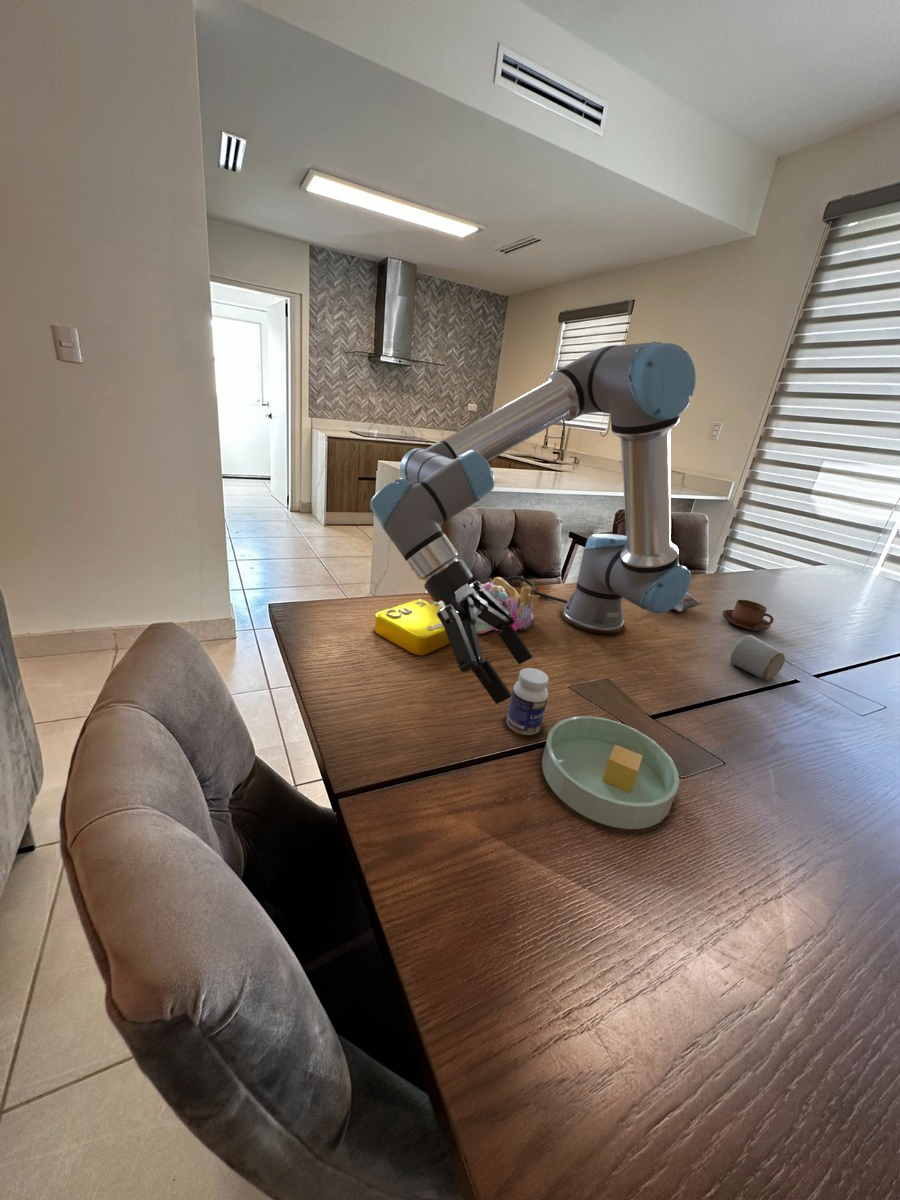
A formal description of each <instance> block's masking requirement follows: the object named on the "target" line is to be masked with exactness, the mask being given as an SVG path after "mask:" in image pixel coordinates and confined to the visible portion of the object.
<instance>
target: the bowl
mask: <svg viewBox="0 0 900 1200" xmlns="http://www.w3.org/2000/svg"><path fill="white" fill-rule="evenodd" d="M546 737H547V738H546V743H545V745H544V750H543V754H542V759H541V767H542V773H543V775H544V778H545V781H546V782H547V784H548V786H549V787H550V788H551V790H552V792H553V793H554V794H555V795H556V796H557V797H558V798H559V799H560V800H561V801H562V802H563V803H564V804H566V805H567V806H568V807H569V808H571V809H572V810H573V811H575V812H577V813H579V814H580V815H581V816H583V817H586V818H587V819H589V820H591V821H594V822H595V823H599V824H601V825H605V826H607V827H612V828H617V829H624V830H642V829H646V828H650V827H653V826H655V825H658V824H660V823H661V822H662V821H663V820H664V819H665V818H666V817H667V816H668V815H669V812H670V810H671V807H672V804H673V802H674V799H675V797H676V795H677V793H678V789H679V787H680V776H679V770H678V769H677V766H676V764H675V762H674V761H673V759H672V757H671V756H670V755H669V754H668V753H667V752H666V750H665V749H664V748H663V747H662V746H661V745H659V744H658V743H657V742H655V741H654V740H653V739H652V738H651V737H650V736H647V735H646V734H644V733H643V732H641V731H639V730H638V729H636V728H634V727H633V726H632V727H631V726H629V725H627V724H625V723H622V722H620V721H616V720H613V719H609V718H606V717H599V716H593V715H577V716H572V717H568V718H564V719H562V720H561V721H558V722H556V723H555V724H554V725H553V726H552V728H550V729H549V731H548V734H547V736H546ZM615 744H616V745H618V746H620V747H623V748H625V749H628V750H630V751H633V752H635V753H637V754H640V755H642V756H643V757H642V760H641V764H640V767H639V770H638V773H637V776H636V779H635V782H634V785H633V788H632V791H631V793H628V792H626V791H624V790H622V789H619V788H617V787H615V786H613V785H610V784H608V783H606V782H604V781H602V780H603V777H604V773H605V770H606V767H607V764H608V761H609V758H610V755H611V753H612V750H613V748H614V745H615Z"/></svg>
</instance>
